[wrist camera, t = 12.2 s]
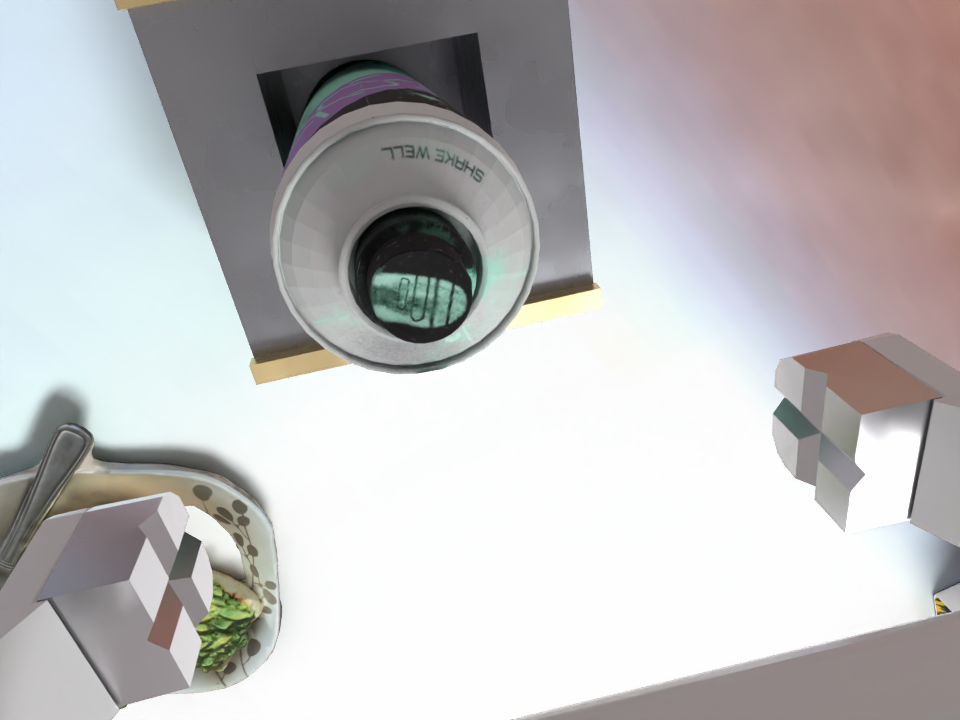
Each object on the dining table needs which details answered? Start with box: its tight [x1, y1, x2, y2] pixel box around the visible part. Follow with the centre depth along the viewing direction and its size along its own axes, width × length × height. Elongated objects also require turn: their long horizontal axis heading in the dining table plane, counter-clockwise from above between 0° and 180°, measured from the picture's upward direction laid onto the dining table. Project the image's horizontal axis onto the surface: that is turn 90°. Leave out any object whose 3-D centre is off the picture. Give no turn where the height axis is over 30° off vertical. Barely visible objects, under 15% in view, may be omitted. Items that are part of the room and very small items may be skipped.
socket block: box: [114, 0, 602, 385], centre depth 27 cm, size 13×13×9 cm
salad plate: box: [0, 423, 282, 709], centre depth 37 cm, size 19×18×5 cm
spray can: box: [270, 59, 540, 374], centre depth 20 cm, size 6×6×20 cm
